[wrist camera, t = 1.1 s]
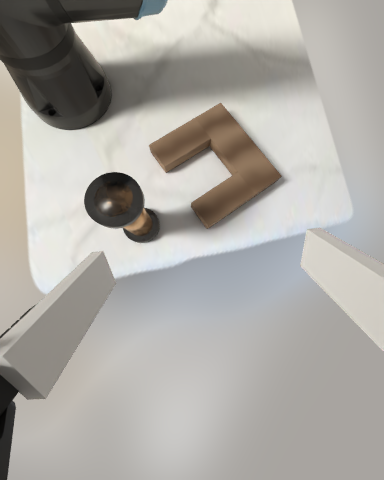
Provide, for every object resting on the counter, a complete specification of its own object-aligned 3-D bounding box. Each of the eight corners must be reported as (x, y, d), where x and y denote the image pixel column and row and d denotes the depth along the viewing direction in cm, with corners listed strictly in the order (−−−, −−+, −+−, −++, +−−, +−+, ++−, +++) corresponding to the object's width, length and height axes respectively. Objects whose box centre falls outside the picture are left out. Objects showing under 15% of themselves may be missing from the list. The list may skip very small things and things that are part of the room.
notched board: (151, 152, 32) (148, 145, 30) (218, 112, 34) (220, 102, 32) (207, 229, 30) (208, 226, 28) (275, 181, 32) (281, 176, 30)
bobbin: (118, 221, 30) (73, 191, 18) (147, 203, 30) (122, 162, 19) (137, 249, 29) (103, 237, 17) (166, 230, 30) (153, 205, 18)
